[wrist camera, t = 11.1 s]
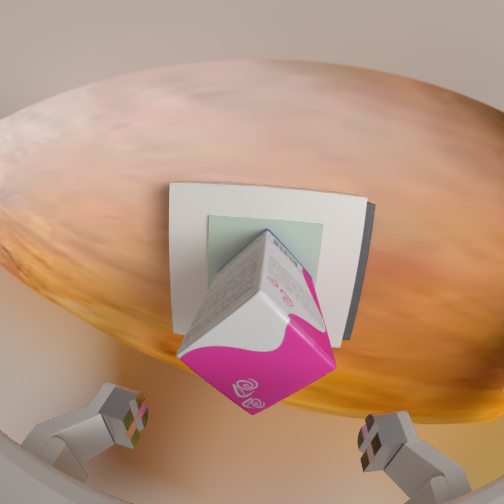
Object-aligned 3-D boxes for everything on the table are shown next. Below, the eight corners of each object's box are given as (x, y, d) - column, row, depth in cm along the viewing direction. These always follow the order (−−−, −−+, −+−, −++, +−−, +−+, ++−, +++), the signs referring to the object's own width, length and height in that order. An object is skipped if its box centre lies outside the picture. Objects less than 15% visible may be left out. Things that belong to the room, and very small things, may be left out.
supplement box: (214, 273, 24) (170, 355, 13) (267, 226, 22) (264, 281, 11) (260, 320, 24) (251, 420, 13) (314, 278, 23) (344, 366, 12)
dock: (367, 196, 24) (379, 199, 21) (343, 331, 28) (350, 349, 25) (180, 181, 25) (168, 183, 22) (181, 318, 29) (172, 334, 26)
